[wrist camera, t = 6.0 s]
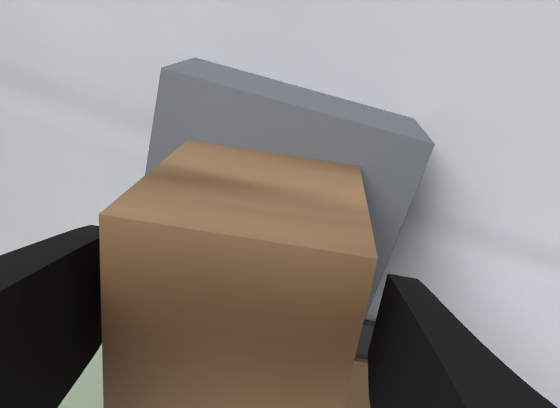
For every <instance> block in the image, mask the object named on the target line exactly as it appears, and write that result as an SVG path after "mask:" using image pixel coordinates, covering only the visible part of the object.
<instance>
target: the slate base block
mask: <svg viewBox="0 0 560 408" xmlns="http://www.w3.org/2000/svg"><path fill="white" fill-rule="evenodd" d="M187 140H189V141H196V142H203V143H209V144H216V145H223V146H230V147H236V148H243V149H250V150H256V151H263V152H270V153H276V154H283V155H290V156H296V157H303V158H310V159H316V160H323V161H330V162H336V163H343V164H350V165H356V166H360V170H361V175H362V180H363V185H364V190H365V195H366V200H367V205H368V211H369V216H370V221H371V226H372V231H373V236H374V241H375V246H376V251H377V256H378V261H377V265H376V269H375V274H374V278H373V282H372V287H371V291H370V295H369V299H368V304H367V308H366V312H365V317H366V314H367V312H368V309H369V307H370V304H371V302H372V299H373V297H374V294H375V292H376V289H377V287H378V284H379V282H380V279H381V277H382V274H383V272H384V269H385V267H386V264H387V262H388V259H389V257H390V254H391V252H392V249H393V247H394V244H395V242H396V239H397V237H398V234H399V232H400V229H401V227H402V225H403V222H404V220H405V217H406V215H407V212H408V210H409V207H410V205H411V202H412V200H413V197H414V195H415V192H416V190H417V187H418V185H419V182H420V180H421V177H422V175H423V172H424V170H425V167H426V165H427V162H428V160H429V157H430V155H431V152H432V150H433V147H434V145H435V144H434V143H433V141H432V140H431V139H430V138H429V137H428V135H427V134H426V133H425V132H424V130H423V129H422V128H421V127H420V125H419V124H418V123H417V122H416V121H415V119H413V118H410V117H406V116H402V115H399V114H395V113H392V112H388V111H385V110H381V109H377V108H374V107H370V106H367V105H363V104H359V103H356V102H352V101H349V100H345V99H342V98H338V97H334V96H331V95H327V94H324V93H320V92H316V91H313V90H309V89H306V88H302V87H299V86H295V85H291V84H288V83H284V82H281V81H277V80H273V79H270V78H266V77H263V76H259V75H255V74H252V73H248V72H245V71H241V70H238V69H234V68H230V67H227V66H223V65H220V64H216V63H212V62H209V61H205V60H202V59H198V58H192V59H189V60H186V61H182V62H179V63H176V64H172V65H169V66H166V67H162V68H161V73H160V80H159V87H158V93H157V100H156V106H155V113H154V120H153V126H152V133H151V139H150V146H149V153H148V159H147V166H146V173H145V175H146V174H148V173H149V172H150V171H151V170H152V169H154V168H155V167H156V166H157V165H158V164H160V163H161V162H162V161H163V160H164V159H166V158H167V157H168V156H169V155H170V154H172V153H173V152H174V151H175V150H176V149H177V148H179V147H180V146H181V145H182V144H183V143H185V142H186V141H187ZM365 317H364V319H365ZM363 322H364V321H363Z"/></svg>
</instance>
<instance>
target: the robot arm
mask: <svg viewBox="0 0 560 408" xmlns="http://www.w3.org/2000/svg"><path fill="white" fill-rule="evenodd" d="M101 344H102V323H101V281H100V239H99V226H94V225H89V226H85V227H81V228H78V229H74V230H71V231H68V232H65V233H62V234H59V235H56V236H54V237H51V238H48V239H45V240H42V241H40V242H37V243H34V244H31V245H28V246H26V247H23V248H20V249H17V250H14V251H12V252H9V253H6V254H3V255H0V408H58V406H59V405H60V404H61V402H62V401H63V399H64V398H65V397H66V395H67V394H68V392H69V391H70V390H71V388H72V387H73V385H74V384H75V383H76V381H77V380H78V378H79V377H80V375H81V374H82V373H83V371H84V370H85V368H86V367H87V365H88V364H89V363H90V361H91V360H92V358H93V357H94V355H95V354H96V352H97V351H98V349H99V348H100V346H101ZM368 388H369V401H370V408H557V407H556V406H555V405H553V404H552V403H551V402H550V401H548V400H547V399H546V398H544V397H543V396H542V395H540V394H539V393H538V392H537V391H535V390H534V389H533V388H532V387H531V386H529V385H528V384H527V383H526V382H525V381H523V380H522V379H521V378H520V377H519V376H518V375H516V374H515V373H514V372H513V371H512V370H511V369H510V368H509V367H507V366H506V365H505V364H504V363H503V362H502V361H501V360H500V359H498V358H497V357H496V356H495V355H494V354H493V353H492V352H491V351H490V350H489V349H488V348H487V347H485V346H484V345H483V344H482V343H481V342H480V341H479V340H478V339H477V338H476V337H475V336H474V335H473V334H472V333H471V332H470V331H469V330H468V329H467V328H466V327H465V326H464V325H463V324H462V323H461V322H460V321H459V320H458V319H457V318H456V317H455V316H454V315H453V314H452V313H451V312H450V311H449V310H448V309H447V308H446V307H445V306H444V305H443V304H442V303H441V302H440V301H439V299H438V298H437V297H436V296H435V295H434V294H433V293H432V292H431V291H430V290H429V289H428V288H427V287H426V286H425V285H424V284H423V283H421V282H420V281H419V280H418V279H415V278H409V277H403V276H397V275H391V274H388V275H387V279H386V283H385V287H384V291H383V295H382V299H381V302H380V306H379V310H378V314H377V318H376V322H375V326H374V330H373V334H372V338H371V341H370V345H369V349H368Z"/></svg>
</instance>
